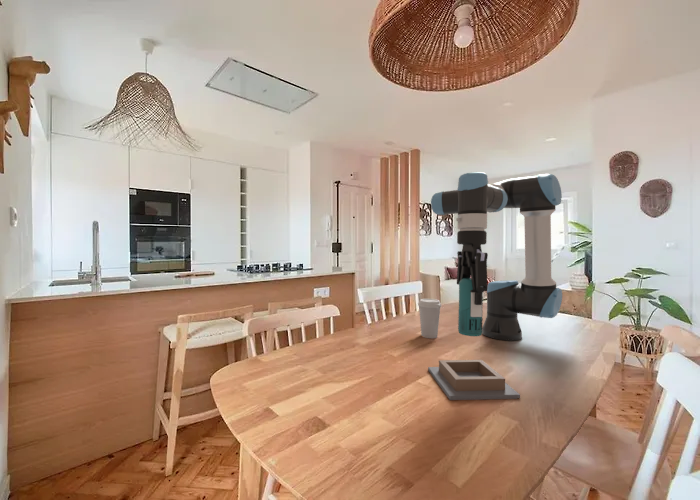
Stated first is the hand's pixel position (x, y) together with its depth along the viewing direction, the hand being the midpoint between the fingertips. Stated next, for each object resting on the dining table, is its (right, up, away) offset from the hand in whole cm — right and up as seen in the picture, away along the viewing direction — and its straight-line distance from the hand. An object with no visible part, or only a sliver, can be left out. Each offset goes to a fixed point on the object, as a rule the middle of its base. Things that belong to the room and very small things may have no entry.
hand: (470, 313), depth 86 cm
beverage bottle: (0, -7, 0) cm, 7 cm away
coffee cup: (0, -19, +44) cm, 48 cm away
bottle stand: (0, -20, +1) cm, 20 cm away
